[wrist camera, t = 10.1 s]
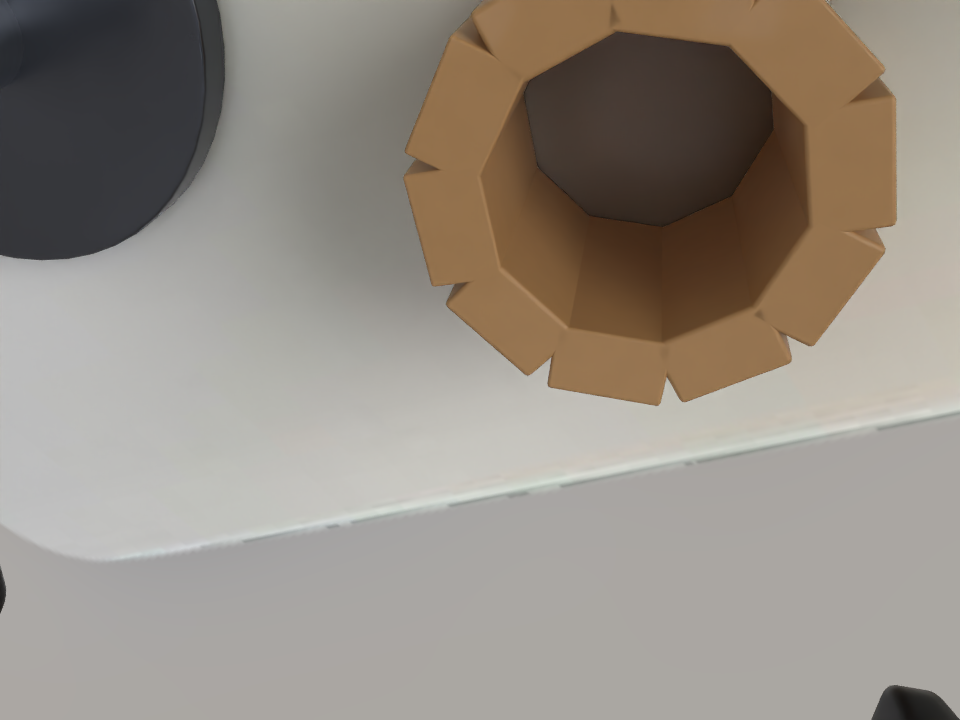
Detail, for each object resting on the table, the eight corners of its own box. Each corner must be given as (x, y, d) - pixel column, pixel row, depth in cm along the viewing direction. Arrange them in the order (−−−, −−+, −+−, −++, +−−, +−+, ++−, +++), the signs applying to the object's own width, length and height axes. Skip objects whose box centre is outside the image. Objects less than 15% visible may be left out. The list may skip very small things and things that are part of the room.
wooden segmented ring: (643, 337, 20) (637, 474, 16) (395, 110, 19) (316, 196, 14) (923, 109, 17) (1010, 206, 13) (651, -193, 15) (646, -197, 11)
